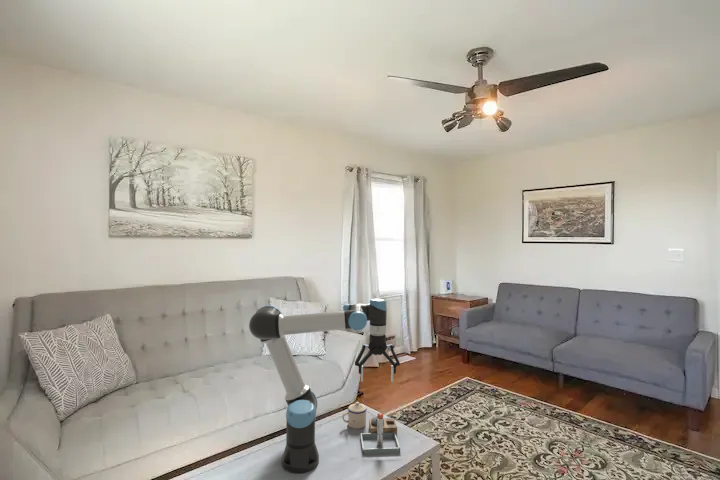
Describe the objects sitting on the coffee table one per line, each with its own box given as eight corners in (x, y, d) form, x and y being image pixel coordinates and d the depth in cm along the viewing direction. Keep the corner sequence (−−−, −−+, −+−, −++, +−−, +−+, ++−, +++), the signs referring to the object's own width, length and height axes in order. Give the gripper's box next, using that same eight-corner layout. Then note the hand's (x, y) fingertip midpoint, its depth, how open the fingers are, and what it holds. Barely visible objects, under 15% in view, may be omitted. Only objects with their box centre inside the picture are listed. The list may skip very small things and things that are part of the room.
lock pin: (377, 447, 172) (377, 416, 171) (376, 444, 174) (376, 413, 174) (383, 447, 172) (383, 416, 171) (382, 444, 174) (382, 413, 174)
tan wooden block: (371, 438, 180) (371, 423, 180) (369, 428, 189) (369, 414, 189) (396, 438, 181) (397, 422, 181) (393, 428, 190) (393, 413, 189)
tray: (362, 456, 166) (362, 449, 166) (360, 439, 179) (360, 433, 179) (400, 455, 167) (400, 448, 167) (395, 438, 180) (395, 432, 180)
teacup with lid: (363, 420, 197) (363, 397, 197) (368, 429, 188) (368, 405, 188) (340, 423, 194) (340, 400, 194) (344, 432, 185) (344, 408, 185)
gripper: (350, 335, 171) (349, 384, 172) (406, 336, 172) (405, 383, 173) (349, 331, 179) (349, 377, 179) (404, 331, 180) (403, 377, 180)
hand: (377, 380), depth 176 cm, fingers open, 13 cm apart
